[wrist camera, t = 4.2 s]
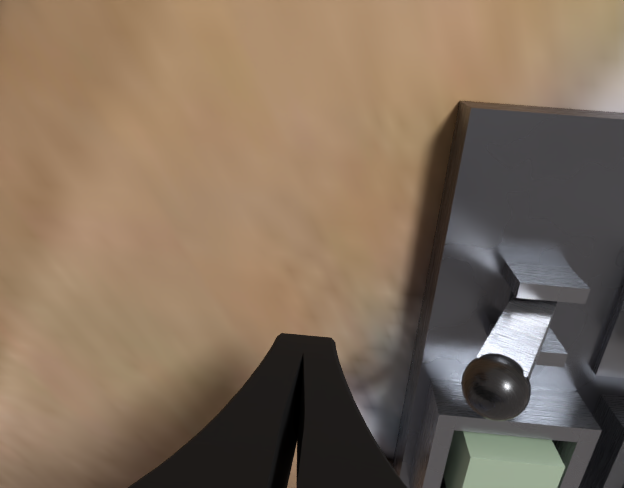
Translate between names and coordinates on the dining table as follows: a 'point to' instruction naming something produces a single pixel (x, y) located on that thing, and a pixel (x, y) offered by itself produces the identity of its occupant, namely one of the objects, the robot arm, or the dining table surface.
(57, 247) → the dining table surface
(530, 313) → the toggle lever
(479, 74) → the dining table surface
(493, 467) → the button
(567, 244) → the panel
